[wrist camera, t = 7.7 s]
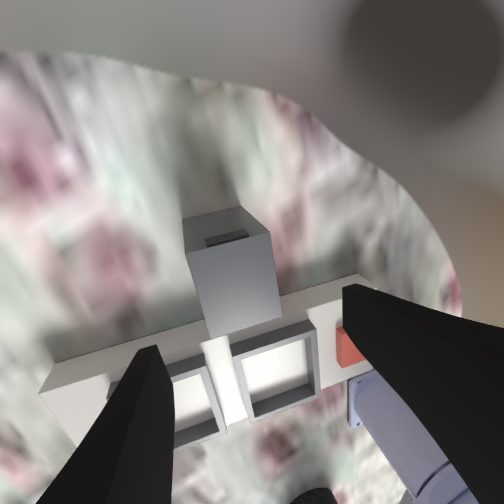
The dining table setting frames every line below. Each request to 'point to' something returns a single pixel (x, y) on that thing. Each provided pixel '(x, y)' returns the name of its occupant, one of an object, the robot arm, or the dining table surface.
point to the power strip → (222, 368)
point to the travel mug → (316, 497)
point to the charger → (232, 270)
